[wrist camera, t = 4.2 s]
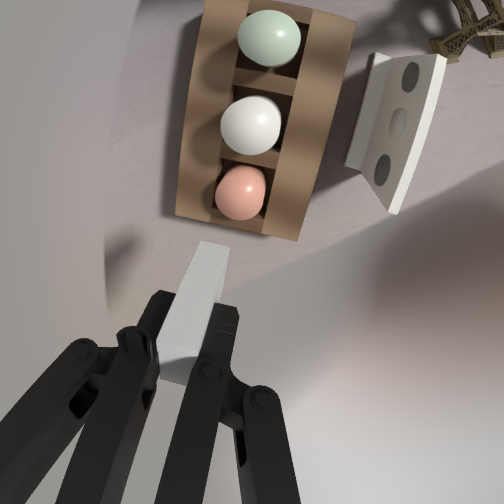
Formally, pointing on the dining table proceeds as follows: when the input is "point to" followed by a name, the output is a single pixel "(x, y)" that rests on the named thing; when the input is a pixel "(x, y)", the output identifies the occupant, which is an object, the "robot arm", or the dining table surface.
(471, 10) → the eiffel tower
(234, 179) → the peach rounded capsule
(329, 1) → the dining table surface
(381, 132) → the pattern card
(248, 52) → the pale green rounded piece
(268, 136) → the white rounded cylinder
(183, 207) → the brown wooden tray
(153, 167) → the dining table surface
